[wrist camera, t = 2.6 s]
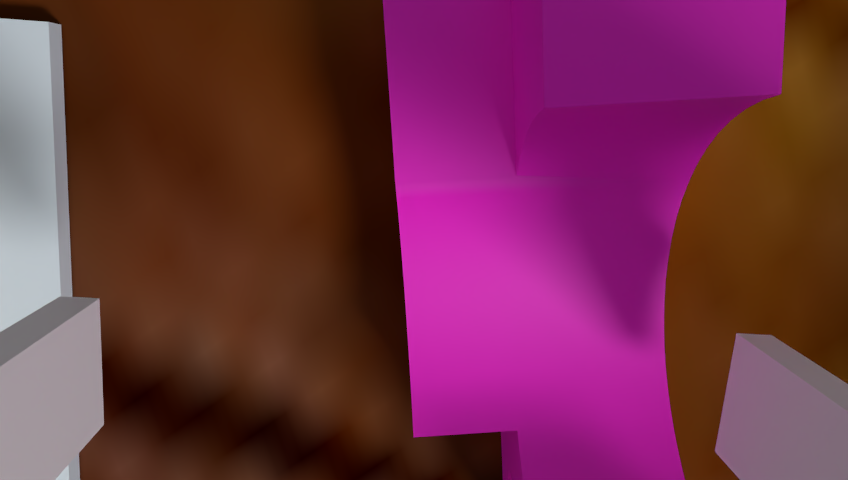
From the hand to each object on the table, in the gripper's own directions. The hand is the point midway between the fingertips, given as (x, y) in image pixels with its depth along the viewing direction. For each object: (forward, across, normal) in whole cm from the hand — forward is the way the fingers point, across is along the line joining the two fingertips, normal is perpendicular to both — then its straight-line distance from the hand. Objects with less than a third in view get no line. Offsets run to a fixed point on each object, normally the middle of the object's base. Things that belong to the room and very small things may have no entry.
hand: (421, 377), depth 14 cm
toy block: (+6, -3, -1) cm, 6 cm away
